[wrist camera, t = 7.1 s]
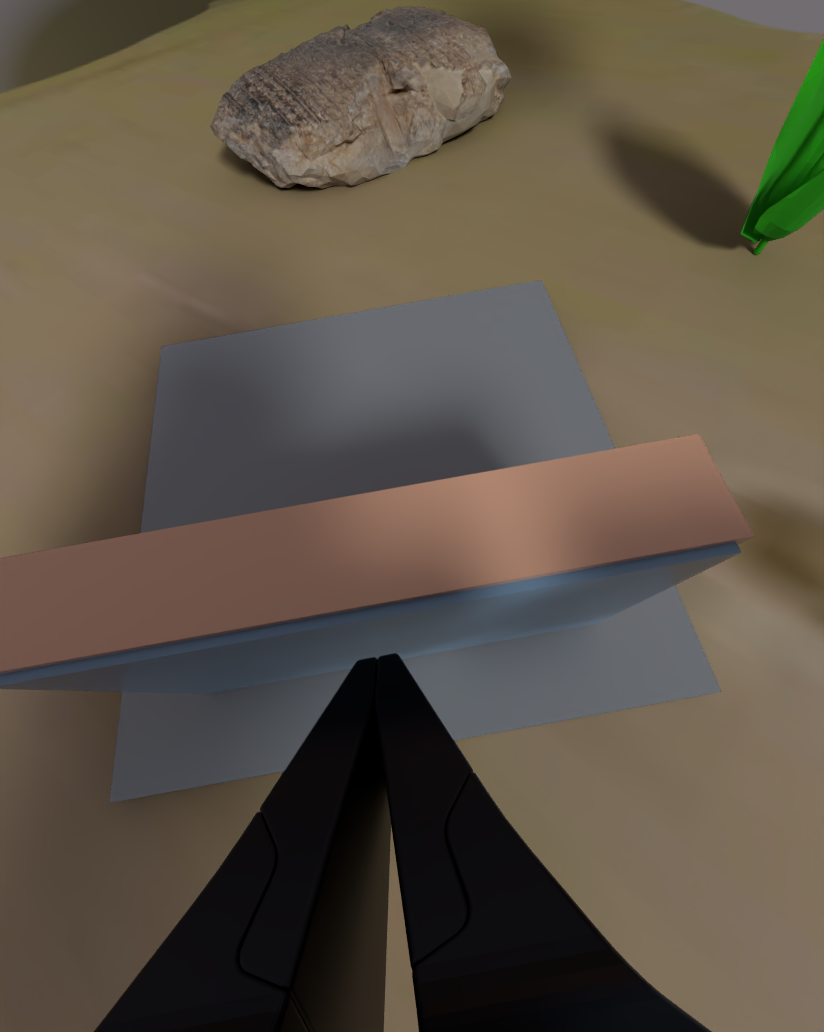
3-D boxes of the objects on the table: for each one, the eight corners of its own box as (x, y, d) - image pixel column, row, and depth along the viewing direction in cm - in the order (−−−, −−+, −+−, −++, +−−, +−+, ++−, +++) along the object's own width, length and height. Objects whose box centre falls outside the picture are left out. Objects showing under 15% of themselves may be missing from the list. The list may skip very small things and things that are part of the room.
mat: (710, 692, 14) (721, 691, 13) (122, 798, 14) (109, 803, 13) (539, 290, 22) (541, 279, 22) (168, 355, 22) (161, 346, 22)
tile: (600, 623, 15) (761, 546, 7) (204, 695, 14) (-39, 690, 7) (577, 559, 16) (698, 433, 8) (207, 625, 15) (-4, 559, 8)
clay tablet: (280, 239, 26) (533, 118, 29) (244, 143, 22) (547, 12, 25) (203, 150, 32) (423, 57, 35) (162, 60, 27) (418, -38, 30)
